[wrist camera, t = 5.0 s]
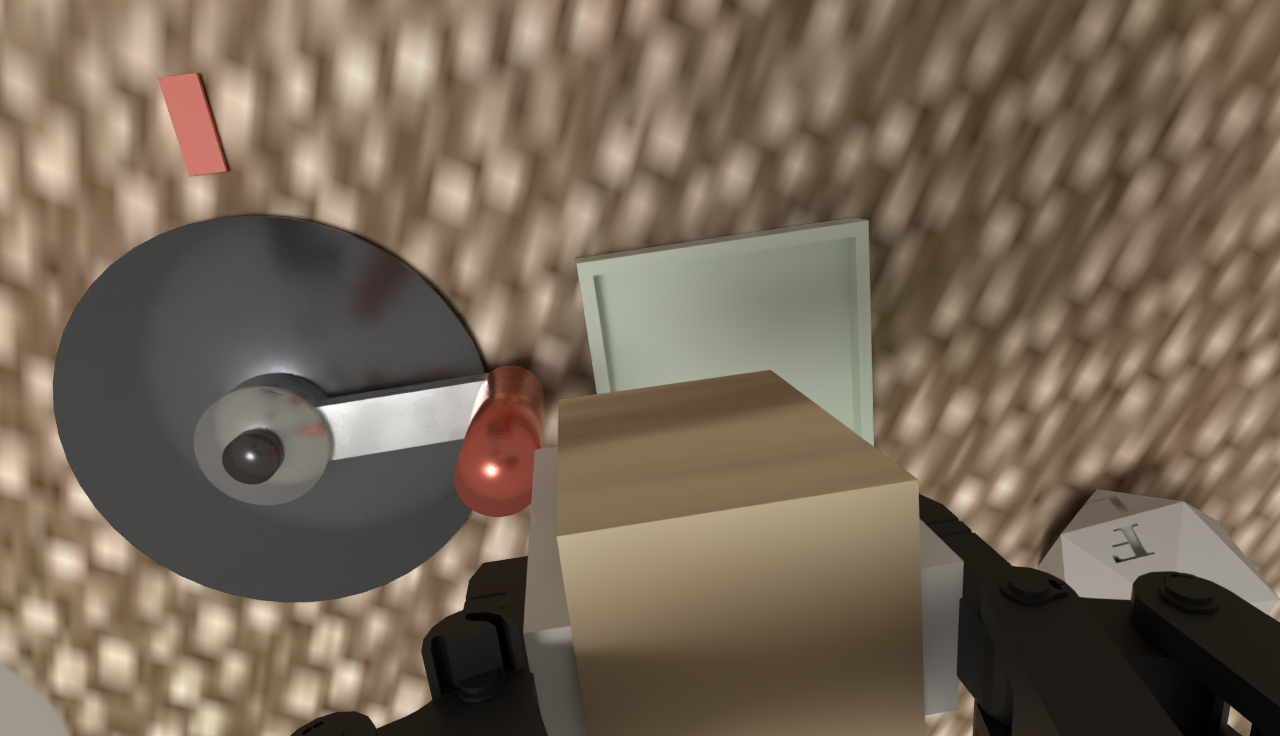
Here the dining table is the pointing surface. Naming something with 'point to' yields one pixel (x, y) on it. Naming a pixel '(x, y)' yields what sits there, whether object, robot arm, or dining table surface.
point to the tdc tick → (193, 124)
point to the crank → (384, 432)
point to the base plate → (223, 343)
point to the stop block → (737, 565)
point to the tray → (739, 313)
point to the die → (1149, 549)
